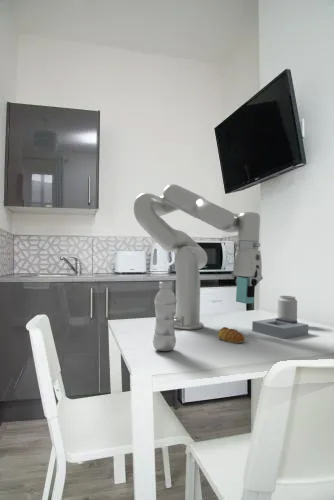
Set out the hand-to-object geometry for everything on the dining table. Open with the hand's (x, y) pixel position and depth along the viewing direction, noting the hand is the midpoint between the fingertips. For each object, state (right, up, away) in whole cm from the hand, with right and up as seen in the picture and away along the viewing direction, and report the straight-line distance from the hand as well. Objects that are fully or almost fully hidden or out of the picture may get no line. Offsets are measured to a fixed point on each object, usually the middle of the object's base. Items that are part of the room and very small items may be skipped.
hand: (245, 295), depth 119 cm
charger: (0, -2, 0) cm, 2 cm away
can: (+21, -15, +15) cm, 30 cm away
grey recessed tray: (+13, -14, +2) cm, 19 cm away
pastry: (-7, -14, -10) cm, 19 cm away
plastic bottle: (-29, -13, -24) cm, 40 cm away
